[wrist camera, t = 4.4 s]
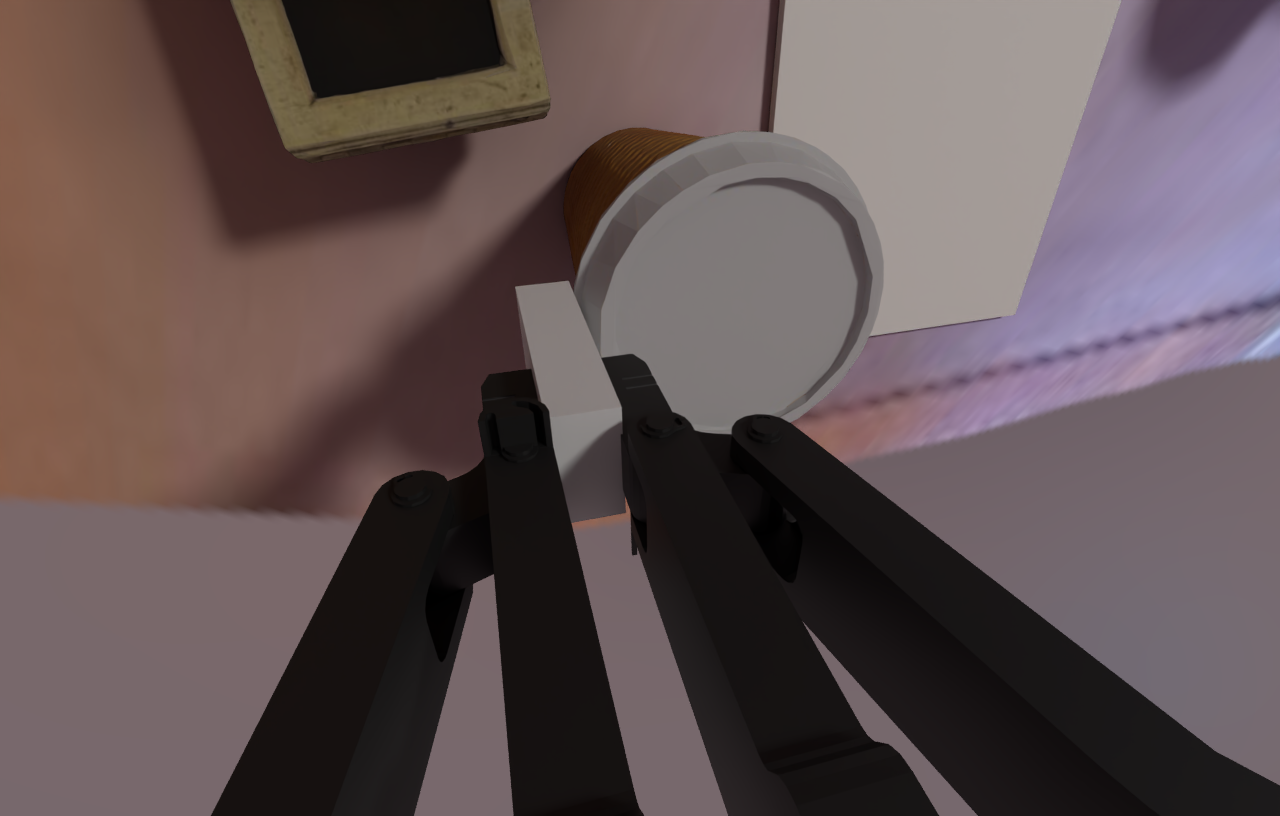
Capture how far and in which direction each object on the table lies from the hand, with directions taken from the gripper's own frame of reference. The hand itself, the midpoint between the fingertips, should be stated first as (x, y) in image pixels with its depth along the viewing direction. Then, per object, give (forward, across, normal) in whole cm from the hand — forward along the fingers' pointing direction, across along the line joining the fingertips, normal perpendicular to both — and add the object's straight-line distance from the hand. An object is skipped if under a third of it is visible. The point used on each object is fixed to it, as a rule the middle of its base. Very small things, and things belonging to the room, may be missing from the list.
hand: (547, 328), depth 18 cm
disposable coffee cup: (+11, +5, 0) cm, 12 cm away
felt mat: (+11, +19, 0) cm, 22 cm away
